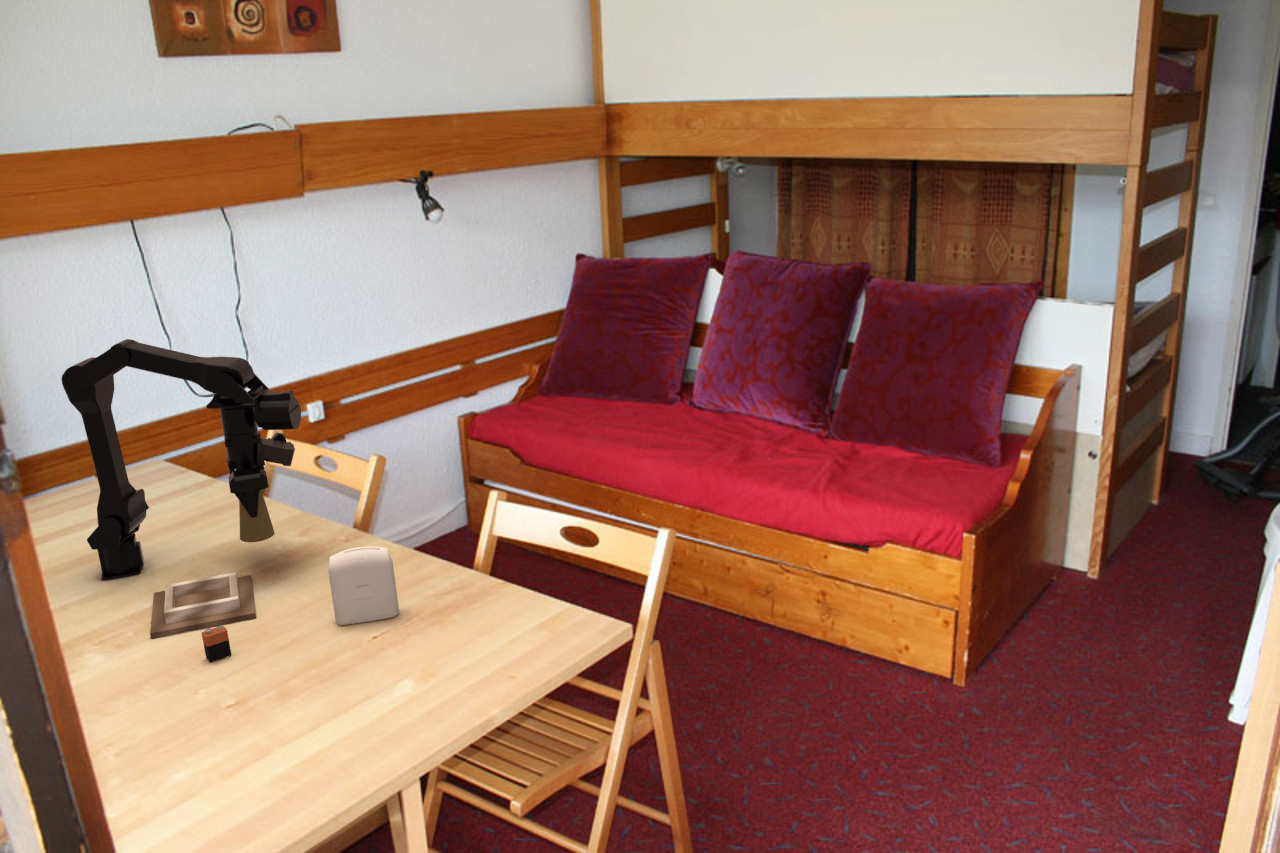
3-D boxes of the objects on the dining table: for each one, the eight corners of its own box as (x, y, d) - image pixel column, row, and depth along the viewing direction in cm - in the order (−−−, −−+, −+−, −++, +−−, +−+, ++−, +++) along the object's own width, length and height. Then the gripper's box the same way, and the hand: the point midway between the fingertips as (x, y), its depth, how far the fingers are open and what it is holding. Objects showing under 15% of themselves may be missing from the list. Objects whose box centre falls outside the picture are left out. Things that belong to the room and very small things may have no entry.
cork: (280, 529, 195) (271, 473, 191) (265, 542, 189) (257, 485, 185) (248, 529, 195) (240, 473, 192) (233, 542, 189) (224, 484, 186)
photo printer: (335, 628, 170) (325, 558, 166) (335, 616, 174) (326, 547, 170) (399, 619, 172) (391, 549, 169) (399, 607, 176) (391, 539, 173)
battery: (205, 658, 162) (200, 629, 161) (227, 650, 164) (222, 621, 163) (210, 663, 161) (204, 634, 159) (232, 655, 163) (227, 626, 161)
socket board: (151, 638, 169) (147, 622, 168) (154, 597, 183) (151, 582, 182) (256, 618, 175) (253, 601, 174) (251, 579, 189) (249, 564, 188)
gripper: (292, 438, 180) (304, 522, 185) (284, 410, 197) (295, 488, 202) (223, 448, 177) (237, 534, 181) (221, 419, 193) (233, 498, 198)
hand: (253, 512), depth 191 cm, fingers closed on cork, 4 cm apart
